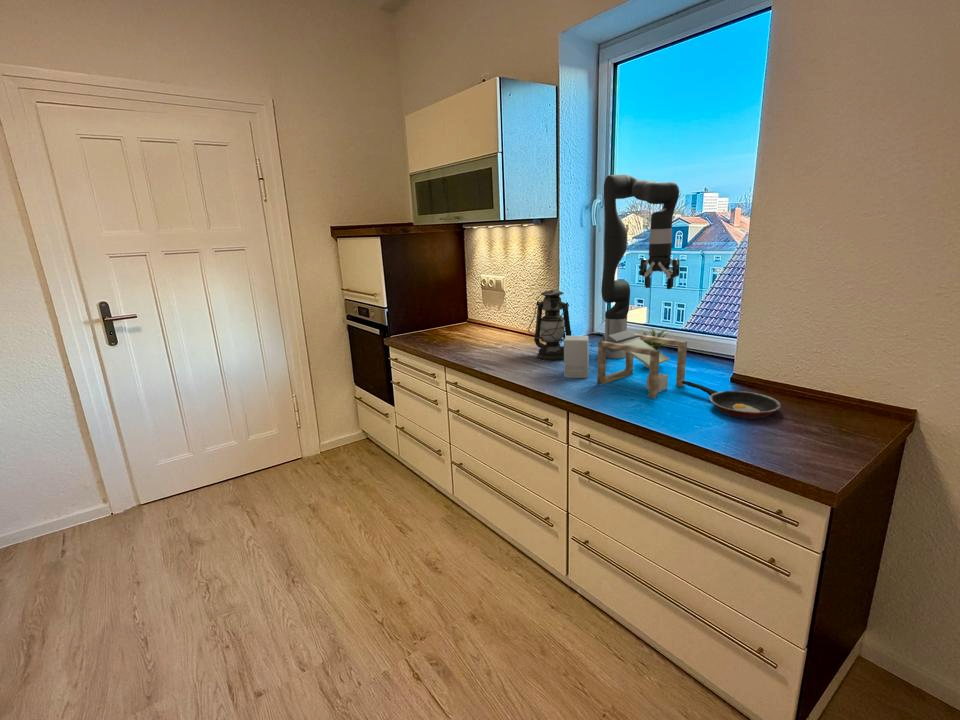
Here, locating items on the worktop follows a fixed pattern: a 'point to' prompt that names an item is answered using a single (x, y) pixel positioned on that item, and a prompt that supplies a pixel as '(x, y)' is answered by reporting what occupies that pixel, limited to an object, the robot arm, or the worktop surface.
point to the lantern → (551, 326)
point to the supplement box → (576, 357)
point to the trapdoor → (631, 339)
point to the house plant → (655, 342)
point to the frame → (653, 354)
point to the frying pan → (740, 402)
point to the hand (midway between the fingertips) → (658, 288)
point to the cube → (660, 382)
